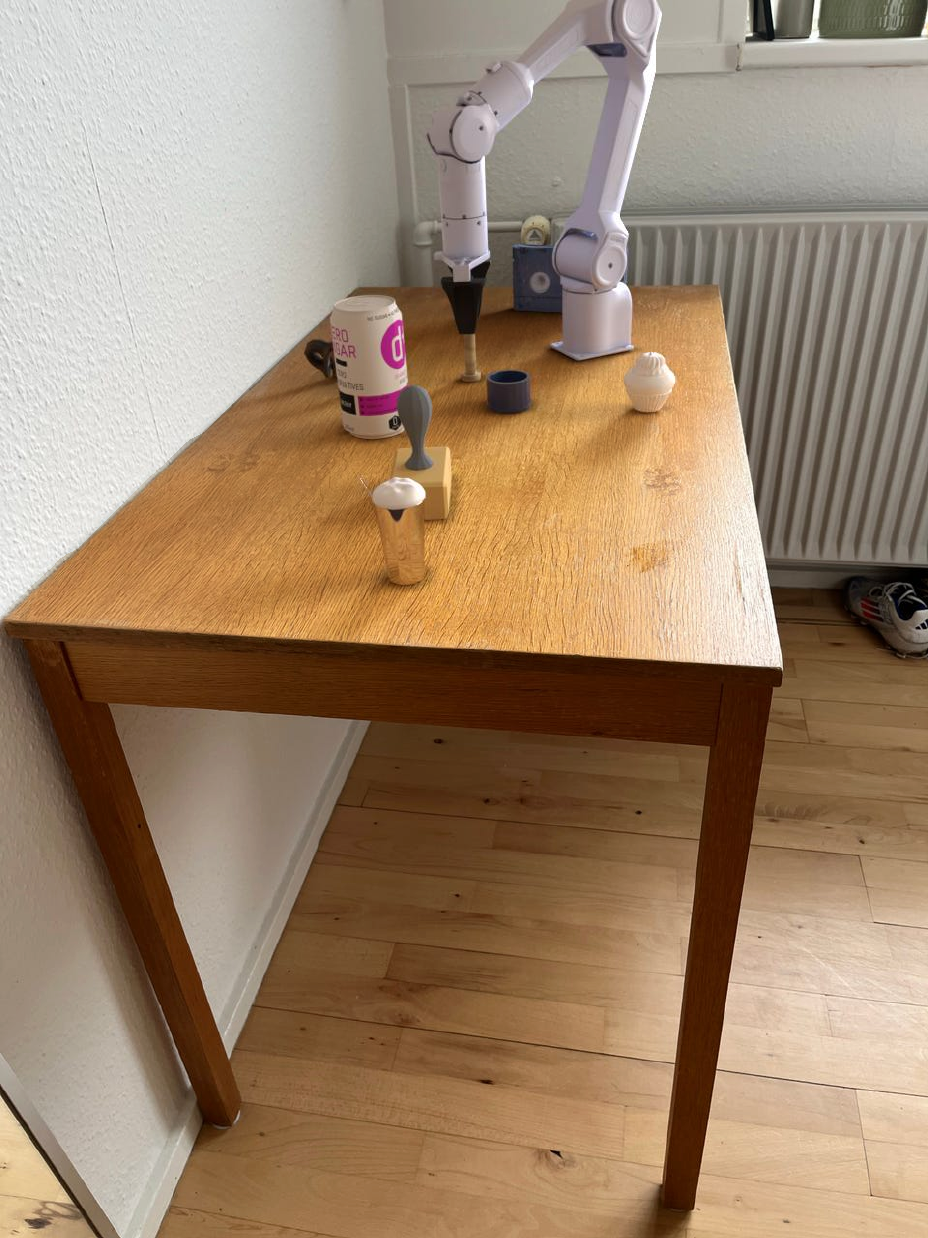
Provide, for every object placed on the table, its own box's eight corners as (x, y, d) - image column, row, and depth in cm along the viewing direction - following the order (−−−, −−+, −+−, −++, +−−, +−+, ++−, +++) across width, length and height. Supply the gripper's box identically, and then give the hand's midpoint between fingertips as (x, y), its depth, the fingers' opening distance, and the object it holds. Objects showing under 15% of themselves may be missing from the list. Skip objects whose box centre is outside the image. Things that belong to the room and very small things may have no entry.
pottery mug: (391, 369, 136) (398, 326, 129) (383, 419, 131) (391, 377, 124) (306, 353, 134) (310, 308, 127) (296, 403, 130) (299, 359, 123)
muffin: (679, 402, 118) (684, 346, 114) (664, 419, 114) (667, 362, 110) (632, 396, 121) (634, 341, 117) (614, 413, 116) (616, 356, 112)
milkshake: (371, 566, 87) (360, 465, 82) (430, 561, 87) (422, 460, 82) (372, 592, 83) (359, 488, 78) (433, 587, 84) (424, 482, 78)
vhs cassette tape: (626, 310, 154) (629, 245, 148) (622, 315, 151) (624, 250, 146) (518, 305, 160) (517, 242, 154) (512, 310, 157) (511, 246, 152)
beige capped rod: (475, 374, 131) (473, 315, 127) (484, 379, 129) (481, 320, 125) (458, 378, 130) (455, 318, 126) (466, 383, 128) (463, 323, 124)
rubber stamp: (398, 479, 103) (388, 370, 97) (451, 477, 103) (444, 368, 96) (390, 521, 95) (378, 405, 88) (448, 518, 95) (440, 402, 88)
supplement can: (422, 419, 118) (412, 295, 110) (390, 444, 111) (377, 314, 103) (365, 412, 121) (352, 291, 113) (331, 436, 115) (314, 310, 106)
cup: (518, 395, 123) (517, 366, 121) (538, 408, 119) (538, 378, 117) (480, 403, 121) (479, 374, 119) (499, 416, 117) (498, 386, 115)
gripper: (438, 205, 125) (444, 310, 132) (425, 227, 113) (433, 342, 120) (491, 203, 124) (495, 309, 132) (484, 225, 112) (489, 340, 119)
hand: (469, 324), depth 126 cm, fingers open, 7 cm apart
